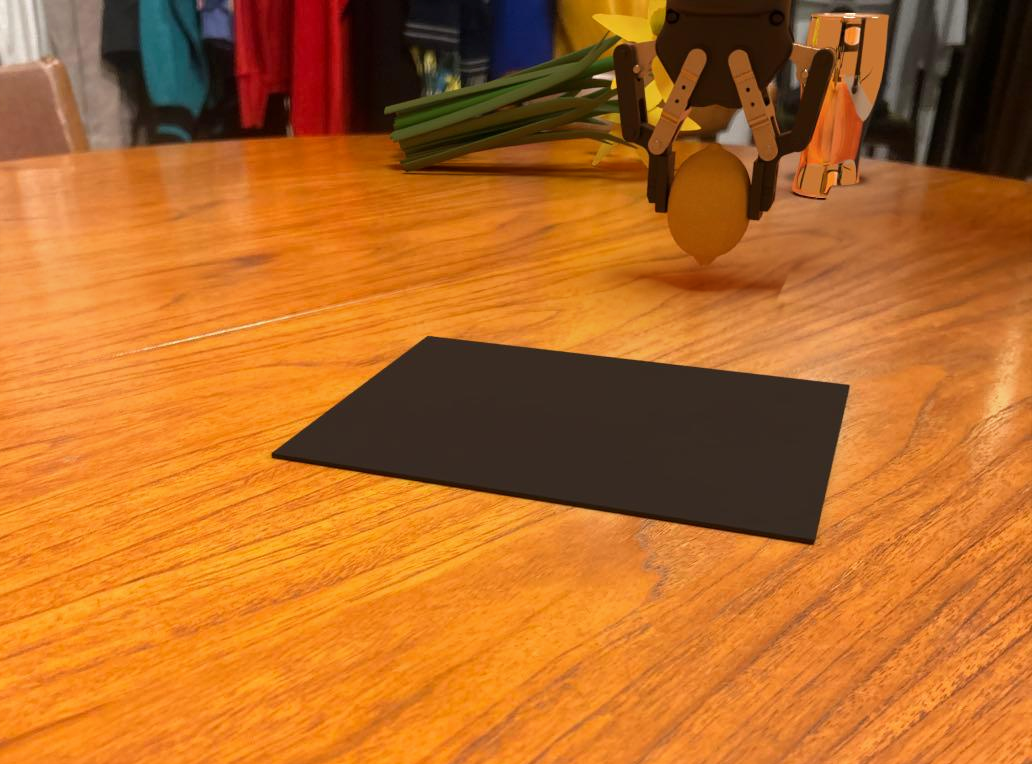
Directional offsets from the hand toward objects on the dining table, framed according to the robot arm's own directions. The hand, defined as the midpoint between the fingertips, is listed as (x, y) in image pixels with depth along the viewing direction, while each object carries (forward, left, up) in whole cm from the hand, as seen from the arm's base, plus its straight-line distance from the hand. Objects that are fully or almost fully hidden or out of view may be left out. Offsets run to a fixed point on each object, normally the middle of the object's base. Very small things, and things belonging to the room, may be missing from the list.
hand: (709, 213), depth 73 cm
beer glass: (-5, -34, -5) cm, 35 cm away
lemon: (0, 0, -4) cm, 4 cm away
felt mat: (+1, +27, -5) cm, 27 cm away
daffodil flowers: (+23, -35, -5) cm, 42 cm away
